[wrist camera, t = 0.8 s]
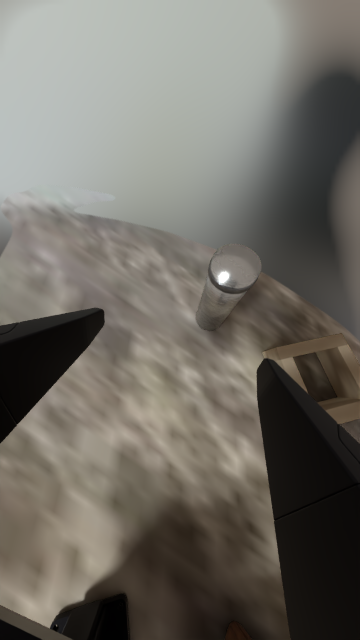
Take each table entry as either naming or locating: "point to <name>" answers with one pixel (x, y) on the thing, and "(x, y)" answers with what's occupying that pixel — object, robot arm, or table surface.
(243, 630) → the decorative turtle
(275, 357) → the socket block
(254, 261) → the silver metal cylinder
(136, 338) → the table surface
